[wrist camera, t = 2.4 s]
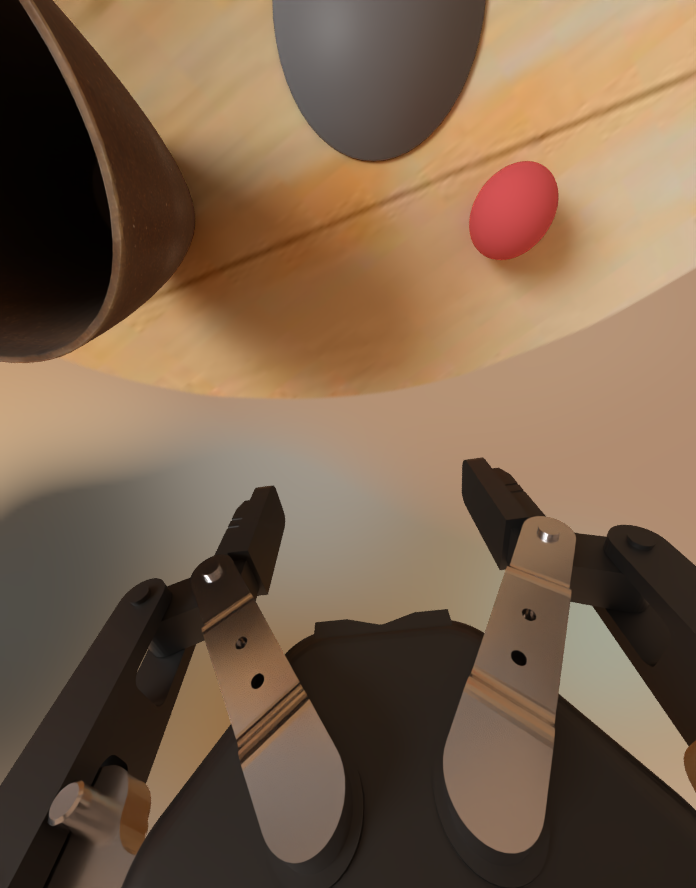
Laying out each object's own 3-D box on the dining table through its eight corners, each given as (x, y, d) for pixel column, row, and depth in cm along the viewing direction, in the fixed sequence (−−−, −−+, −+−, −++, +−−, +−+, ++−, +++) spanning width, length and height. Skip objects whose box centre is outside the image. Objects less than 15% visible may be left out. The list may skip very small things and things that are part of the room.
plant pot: (280, 253, 25) (202, 253, 12) (155, 339, 29) (-11, 413, 16) (138, -2, 18) (-452, -713, 5) (-2, 156, 22) (-546, 7, 9)
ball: (509, 150, 22) (553, 122, 17) (544, 218, 24) (592, 209, 19) (445, 218, 24) (469, 210, 19) (483, 274, 26) (512, 279, 21)
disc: (388, -301, 14) (389, -308, 14) (525, 19, 19) (527, 17, 18) (231, 21, 19) (229, 19, 19) (371, 207, 24) (372, 207, 23)
